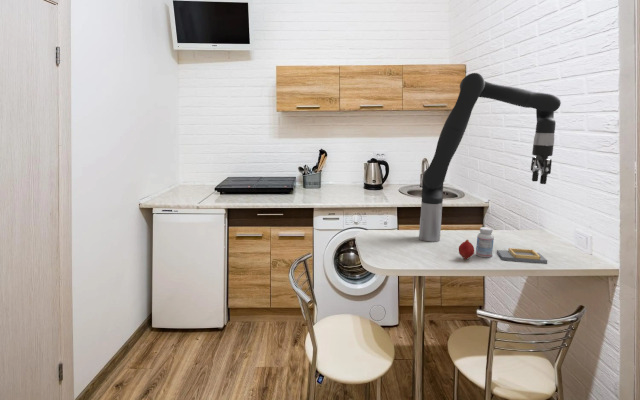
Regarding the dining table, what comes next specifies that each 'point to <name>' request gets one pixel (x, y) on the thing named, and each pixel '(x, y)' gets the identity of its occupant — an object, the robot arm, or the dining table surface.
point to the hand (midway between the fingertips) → (538, 182)
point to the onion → (466, 249)
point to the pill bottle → (484, 242)
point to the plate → (521, 255)
